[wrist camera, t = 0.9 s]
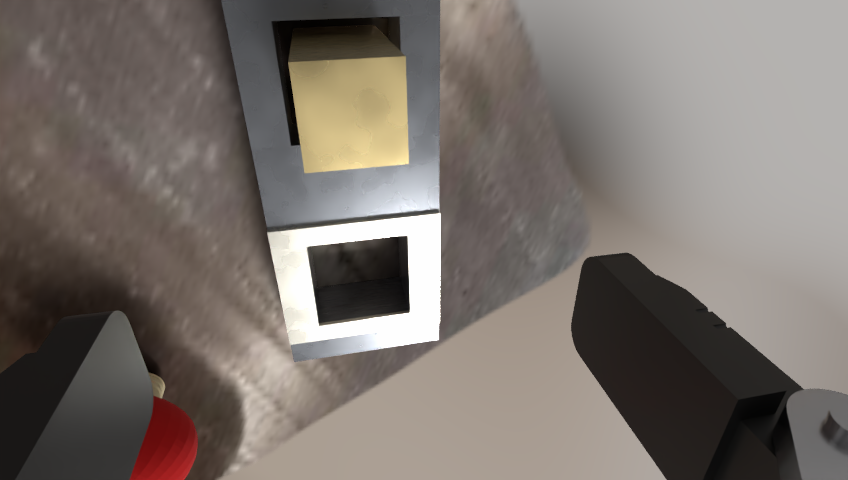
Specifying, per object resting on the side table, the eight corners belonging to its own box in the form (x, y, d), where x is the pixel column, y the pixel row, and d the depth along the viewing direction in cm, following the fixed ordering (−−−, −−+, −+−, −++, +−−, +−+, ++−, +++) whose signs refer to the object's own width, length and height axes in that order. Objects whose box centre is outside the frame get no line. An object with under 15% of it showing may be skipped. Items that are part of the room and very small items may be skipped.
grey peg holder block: (223, -54, 24) (209, -55, 20) (422, -56, 26) (441, -58, 22) (295, 324, 36) (294, 365, 32) (426, 305, 38) (439, 342, 34)
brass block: (293, 28, 26) (288, 62, 18) (374, 24, 27) (405, 56, 19) (304, 109, 29) (304, 173, 20) (378, 104, 29) (408, 164, 21)
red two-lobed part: (194, 326, 34) (158, 447, 26) (228, 393, 38) (206, 518, 30) (56, 359, 33) (-28, 495, 25) (104, 424, 37) (46, 562, 29)
